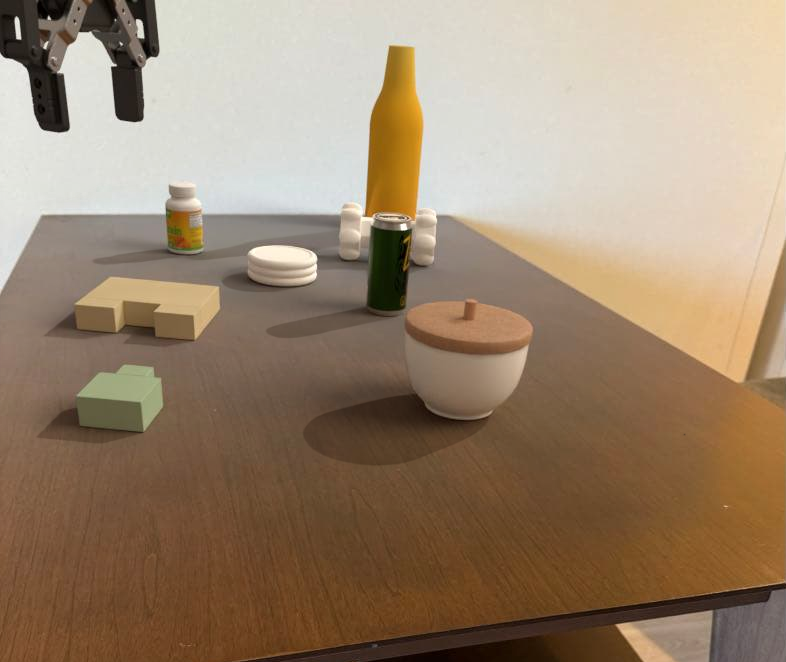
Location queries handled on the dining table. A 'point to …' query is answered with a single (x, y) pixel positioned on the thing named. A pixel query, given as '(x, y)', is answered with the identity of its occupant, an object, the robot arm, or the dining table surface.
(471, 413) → the lidded bowl
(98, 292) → the notch pad
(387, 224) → the beer can
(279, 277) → the coaster
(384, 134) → the beer bottle
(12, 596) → the dining table surface
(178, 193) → the supplement bottle
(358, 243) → the dog bone
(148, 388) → the pad
